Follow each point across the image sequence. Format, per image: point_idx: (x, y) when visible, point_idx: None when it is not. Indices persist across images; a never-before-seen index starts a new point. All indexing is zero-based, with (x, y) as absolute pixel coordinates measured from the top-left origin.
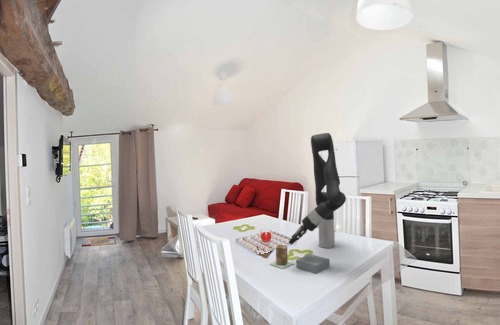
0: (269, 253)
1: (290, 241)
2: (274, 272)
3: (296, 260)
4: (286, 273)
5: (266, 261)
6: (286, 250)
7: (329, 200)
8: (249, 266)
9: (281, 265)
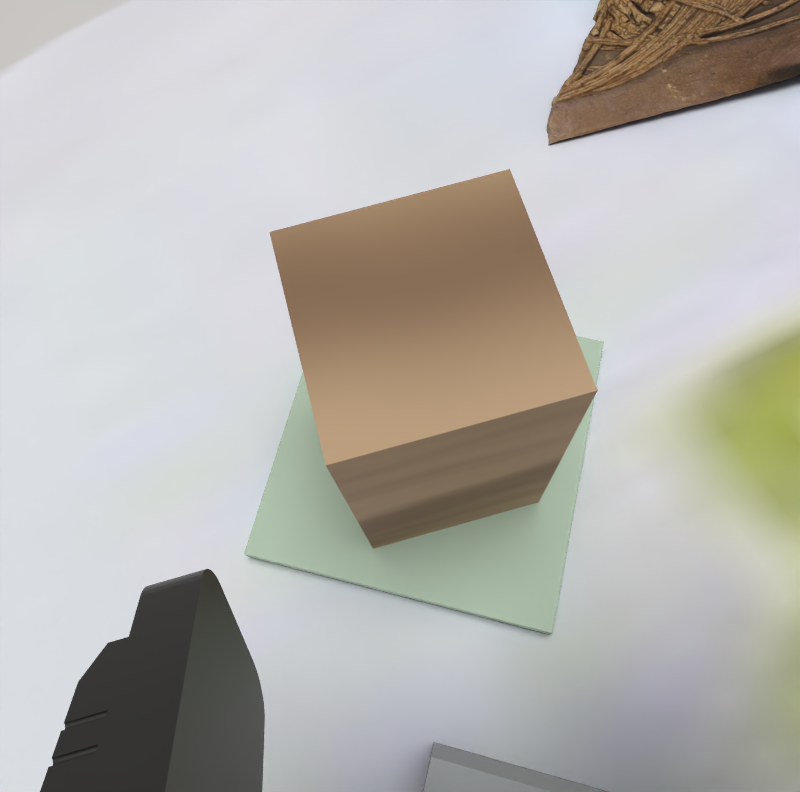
0: (742, 81)
1: (81, 700)
2: (77, 500)
3: (430, 765)
4: None
5: None
6: (471, 455)
7: None
8: (161, 111)
9: None
